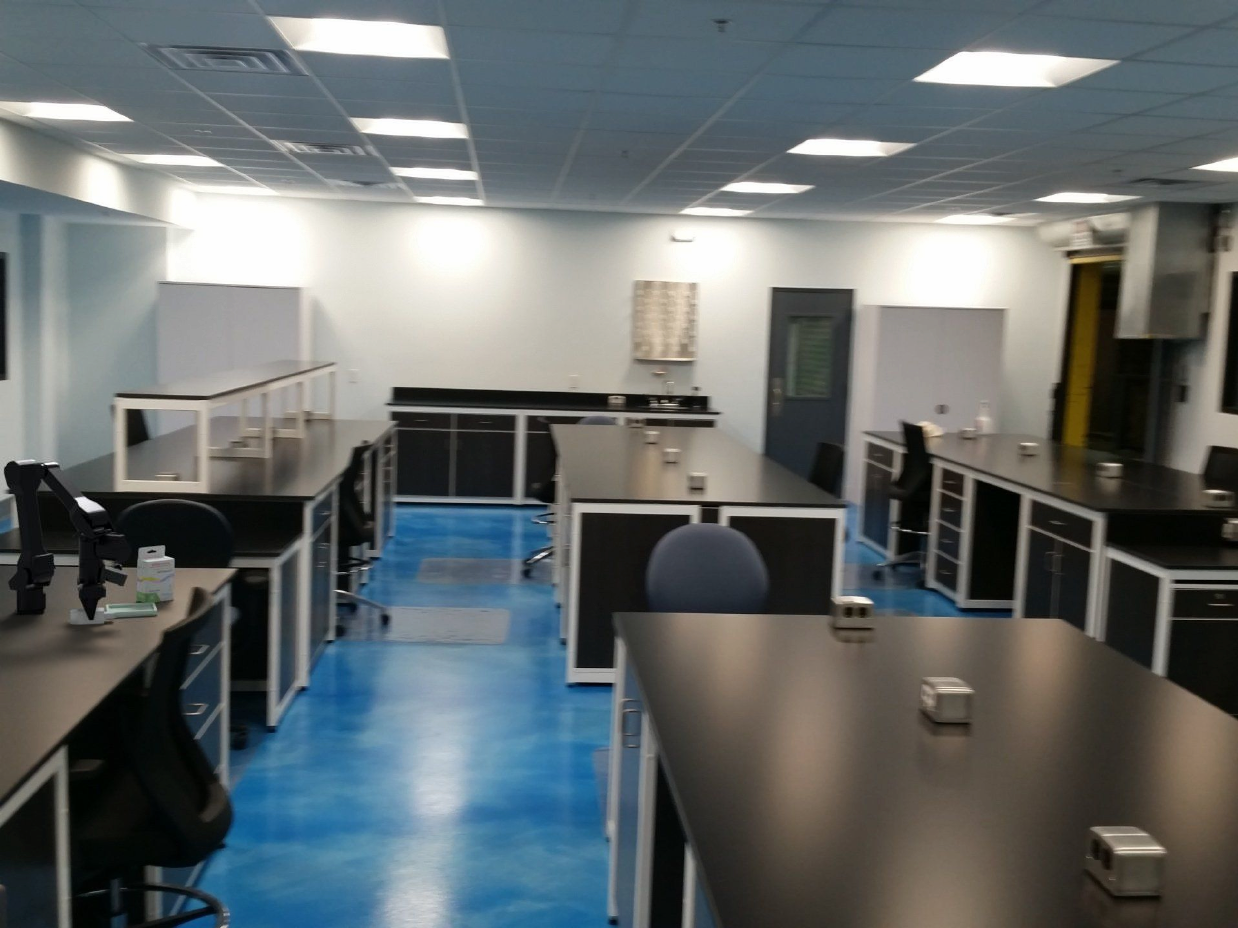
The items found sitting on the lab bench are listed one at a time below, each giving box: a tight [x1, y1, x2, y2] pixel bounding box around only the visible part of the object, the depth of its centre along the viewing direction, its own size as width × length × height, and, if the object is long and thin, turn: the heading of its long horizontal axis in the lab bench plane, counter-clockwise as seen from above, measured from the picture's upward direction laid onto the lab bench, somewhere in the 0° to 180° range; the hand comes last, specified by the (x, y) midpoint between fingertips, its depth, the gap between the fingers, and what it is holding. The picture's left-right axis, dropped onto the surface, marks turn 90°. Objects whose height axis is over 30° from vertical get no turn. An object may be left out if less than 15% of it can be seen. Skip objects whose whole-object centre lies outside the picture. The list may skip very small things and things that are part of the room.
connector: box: [69, 607, 115, 626], centre depth 300 cm, size 10×4×3 cm, turn 116°
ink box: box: [136, 545, 175, 603], centre depth 326 cm, size 9×5×15 cm, turn 143°
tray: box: [105, 602, 158, 619], centre depth 312 cm, size 12×9×1 cm
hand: (90, 618), depth 300 cm, fingers closed on connector, 4 cm apart
